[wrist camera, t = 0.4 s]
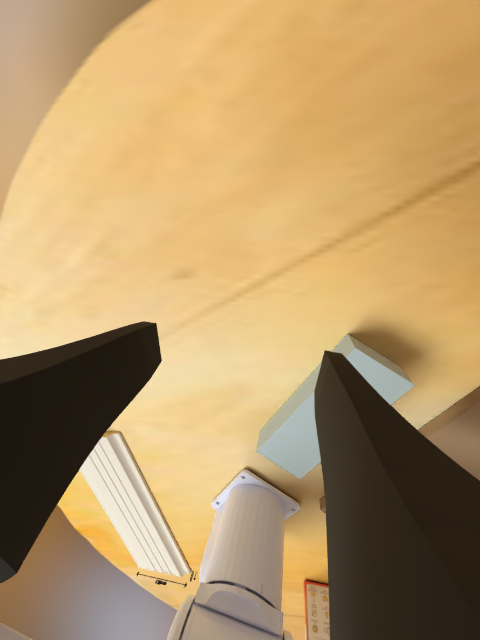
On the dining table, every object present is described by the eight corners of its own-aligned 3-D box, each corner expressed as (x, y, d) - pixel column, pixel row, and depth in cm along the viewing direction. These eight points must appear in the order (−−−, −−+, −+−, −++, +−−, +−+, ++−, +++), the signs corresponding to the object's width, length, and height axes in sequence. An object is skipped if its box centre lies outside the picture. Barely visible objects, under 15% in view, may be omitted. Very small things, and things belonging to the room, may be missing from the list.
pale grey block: (299, 452, 24) (299, 479, 21) (260, 427, 24) (256, 451, 21) (397, 363, 18) (415, 385, 16) (346, 332, 19) (355, 347, 16)
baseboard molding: (131, 427, 30) (70, 429, 34) (115, 446, 27) (50, 445, 31) (200, 568, 38) (144, 557, 42) (192, 592, 36) (134, 578, 39)
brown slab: (424, 567, 25) (453, 641, 20) (319, 500, 25) (324, 557, 21) (671, 471, 16) (822, 564, 11) (504, 368, 16) (585, 419, 12)
